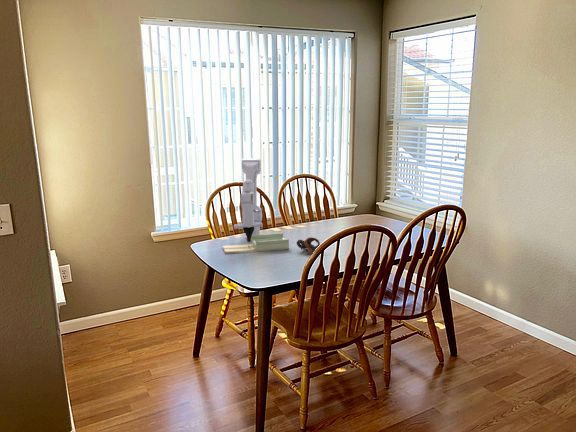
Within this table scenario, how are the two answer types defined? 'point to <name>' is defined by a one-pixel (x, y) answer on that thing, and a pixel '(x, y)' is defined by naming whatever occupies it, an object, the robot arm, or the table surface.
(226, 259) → the table surface
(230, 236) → the table surface
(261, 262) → the table surface
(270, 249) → the green tray
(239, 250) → the cover plate
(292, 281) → the table surface
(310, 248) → the brown looped figurine
